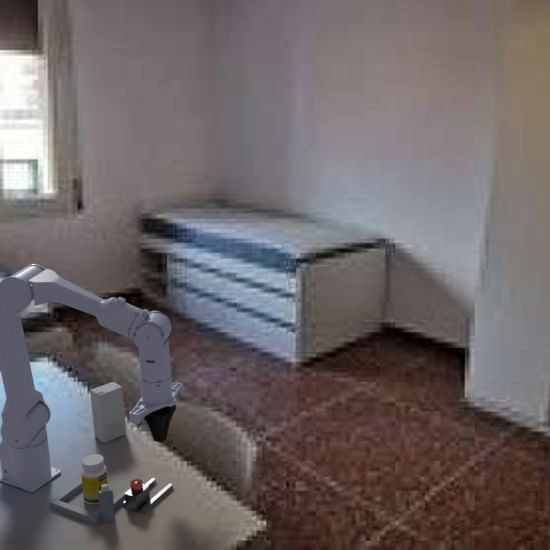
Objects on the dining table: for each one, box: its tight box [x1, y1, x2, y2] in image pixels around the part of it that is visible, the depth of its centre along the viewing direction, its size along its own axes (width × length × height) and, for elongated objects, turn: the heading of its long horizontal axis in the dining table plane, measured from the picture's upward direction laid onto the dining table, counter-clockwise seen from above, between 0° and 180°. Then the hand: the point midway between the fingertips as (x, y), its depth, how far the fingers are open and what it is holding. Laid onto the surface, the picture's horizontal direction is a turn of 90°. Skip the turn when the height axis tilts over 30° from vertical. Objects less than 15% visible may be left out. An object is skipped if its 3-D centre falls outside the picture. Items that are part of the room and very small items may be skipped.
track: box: [122, 477, 174, 514], centre depth 130 cm, size 5×9×1 cm, turn 153°
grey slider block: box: [125, 478, 151, 514], centre depth 127 cm, size 3×4×5 cm, turn 153°
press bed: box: [48, 477, 130, 525], centre depth 128 cm, size 13×10×7 cm
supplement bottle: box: [80, 453, 109, 506], centre depth 129 cm, size 5×5×8 cm
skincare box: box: [89, 381, 127, 444], centre depth 151 cm, size 6×4×12 cm
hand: (160, 440), depth 131 cm, fingers closed
